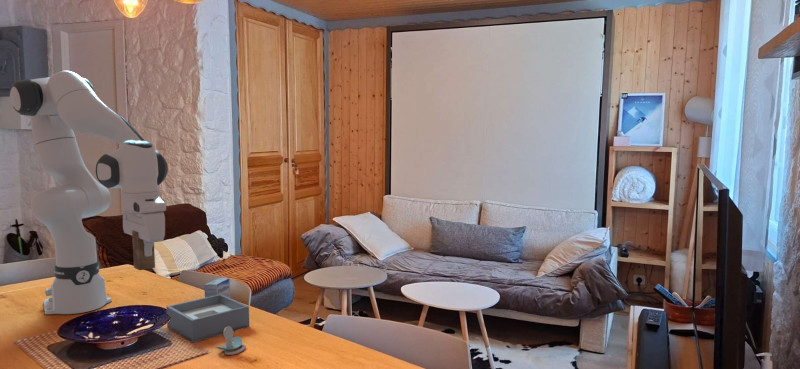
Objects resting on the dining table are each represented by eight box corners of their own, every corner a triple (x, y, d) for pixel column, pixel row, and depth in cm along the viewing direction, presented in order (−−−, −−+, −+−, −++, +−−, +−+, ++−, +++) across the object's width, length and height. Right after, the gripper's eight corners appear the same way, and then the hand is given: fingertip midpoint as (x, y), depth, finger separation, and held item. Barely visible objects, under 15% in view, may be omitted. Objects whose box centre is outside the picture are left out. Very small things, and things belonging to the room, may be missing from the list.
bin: (167, 326, 158) (166, 306, 157) (221, 313, 169) (220, 294, 169) (192, 342, 146) (192, 320, 145) (249, 326, 157) (248, 306, 157)
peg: (133, 267, 146) (132, 230, 145) (149, 265, 149) (147, 228, 148) (139, 270, 144) (137, 232, 143) (155, 267, 146) (153, 230, 145)
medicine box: (217, 312, 170) (217, 284, 169) (204, 311, 171) (203, 284, 170) (230, 304, 178) (229, 278, 177) (218, 303, 179) (217, 277, 178)
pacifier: (251, 348, 143) (232, 343, 145) (250, 324, 142) (232, 321, 145) (232, 358, 136) (213, 354, 138) (232, 334, 136) (212, 330, 138)
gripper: (115, 199, 150) (117, 250, 151) (143, 207, 135) (145, 262, 137) (139, 197, 154) (141, 246, 156) (168, 204, 140) (171, 258, 141)
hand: (143, 254), depth 146 cm, fingers closed on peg, 4 cm apart
